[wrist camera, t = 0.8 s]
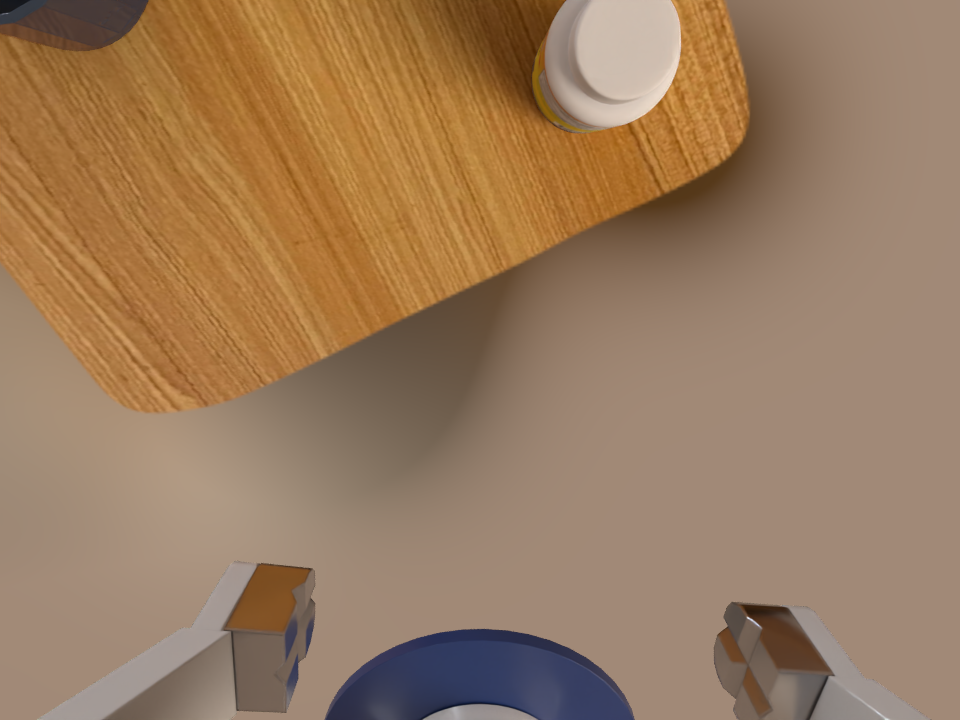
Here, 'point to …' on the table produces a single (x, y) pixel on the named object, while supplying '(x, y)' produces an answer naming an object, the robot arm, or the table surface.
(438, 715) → the robot arm
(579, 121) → the supplement bottle
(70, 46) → the crock
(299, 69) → the table surface
